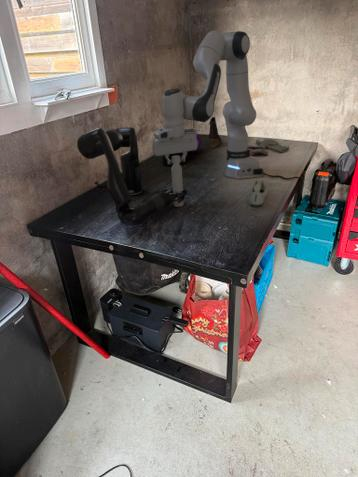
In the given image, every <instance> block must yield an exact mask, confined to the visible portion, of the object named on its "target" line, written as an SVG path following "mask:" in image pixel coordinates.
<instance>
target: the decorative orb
mask: <svg viewBox="0 0 358 477" xmlns="http://www.w3.org/2000/svg"><path fill="white" fill-rule="evenodd" d="M196 138H197V145H198V148H197V149H196V150H193V151H188V154H194V153H196V152H197V151H198V150H199V149H200V147H201V145H202V140H201V137H200V135H199V134H198V133H197V137H196Z"/></svg>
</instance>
